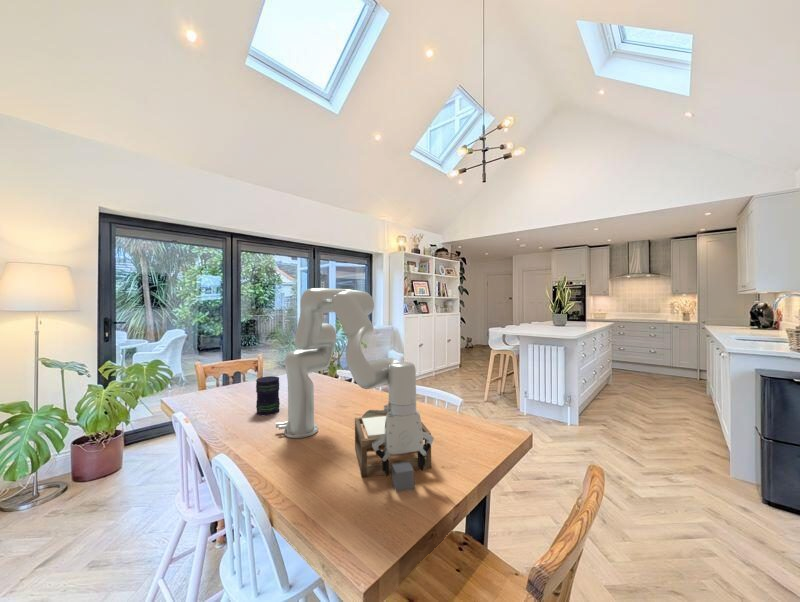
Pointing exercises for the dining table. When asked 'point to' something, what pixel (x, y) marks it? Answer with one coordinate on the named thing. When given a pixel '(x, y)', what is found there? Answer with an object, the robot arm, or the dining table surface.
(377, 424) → the hatch leaf
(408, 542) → the dining table surface
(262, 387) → the storage jar
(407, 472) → the basalt block
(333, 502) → the dining table surface
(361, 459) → the walnut hatch frame
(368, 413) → the marble piece
